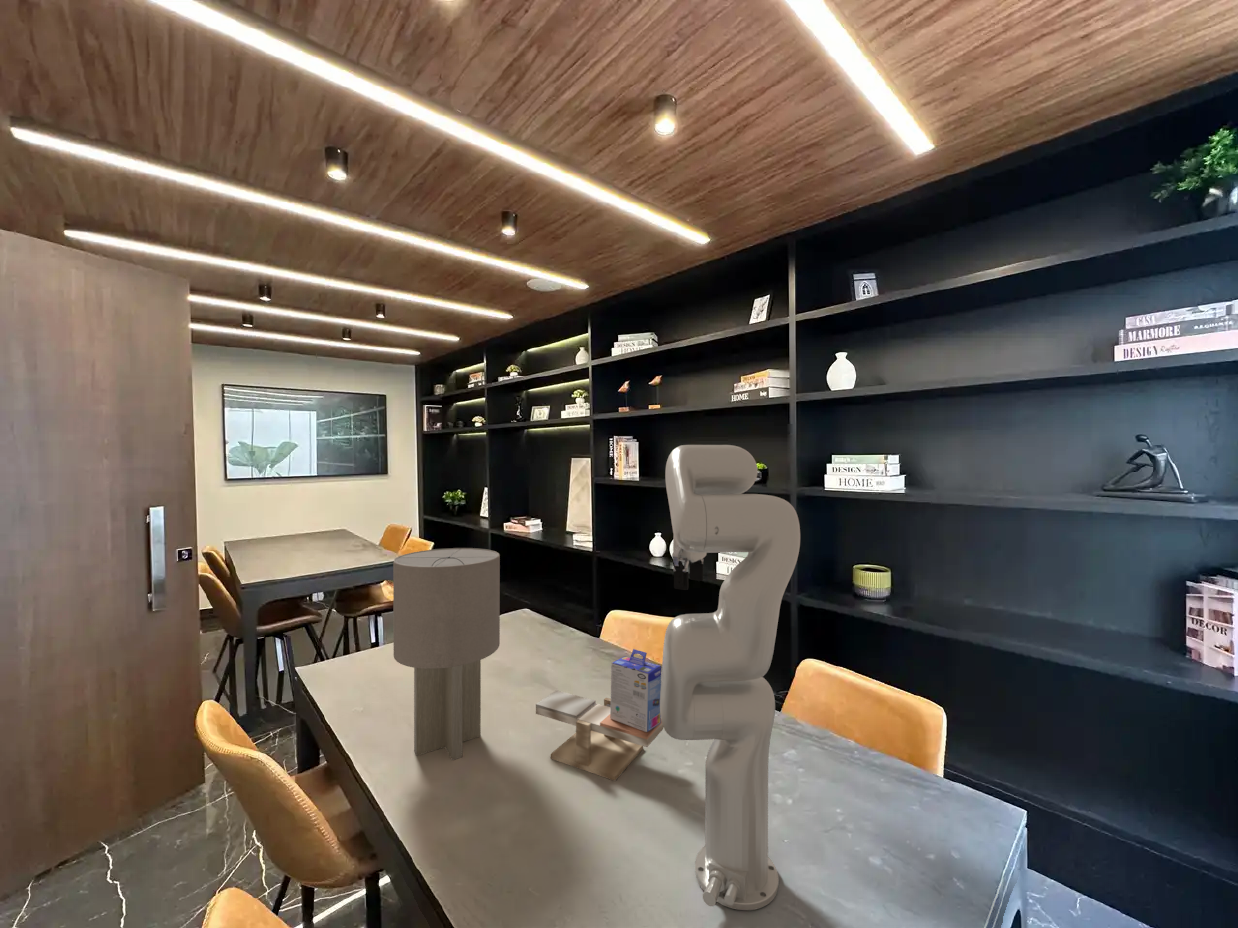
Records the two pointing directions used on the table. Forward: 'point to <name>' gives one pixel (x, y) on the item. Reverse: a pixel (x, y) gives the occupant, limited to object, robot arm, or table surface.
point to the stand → (596, 751)
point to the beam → (592, 717)
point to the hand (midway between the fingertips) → (689, 584)
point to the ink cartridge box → (635, 692)
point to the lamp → (446, 639)
